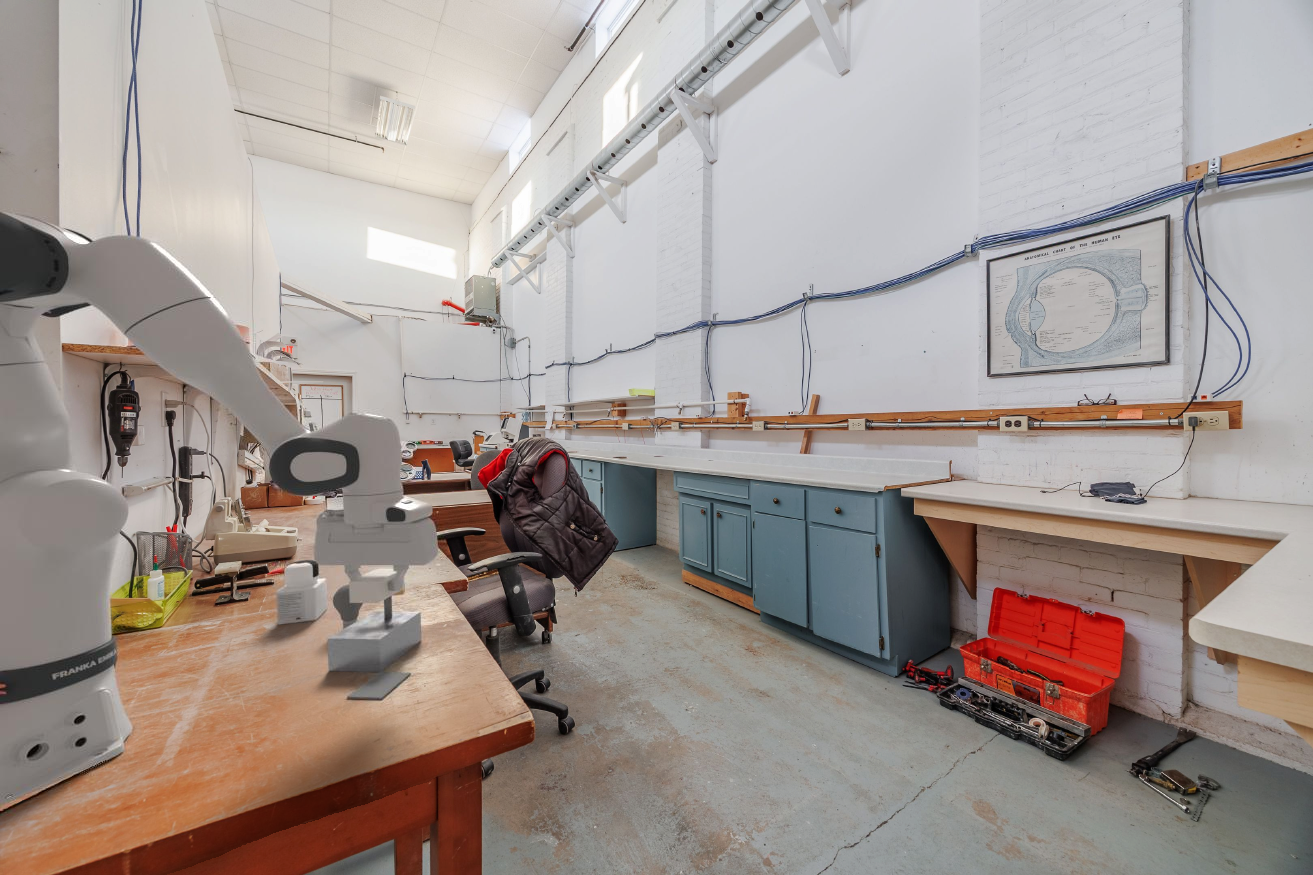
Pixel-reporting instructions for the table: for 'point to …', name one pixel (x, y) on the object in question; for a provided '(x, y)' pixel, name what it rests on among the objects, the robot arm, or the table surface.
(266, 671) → the table surface
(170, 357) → the robot arm
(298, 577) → the container
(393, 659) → the box
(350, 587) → the cream white box
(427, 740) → the table surface
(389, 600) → the t key
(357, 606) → the light bulb
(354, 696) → the mat
